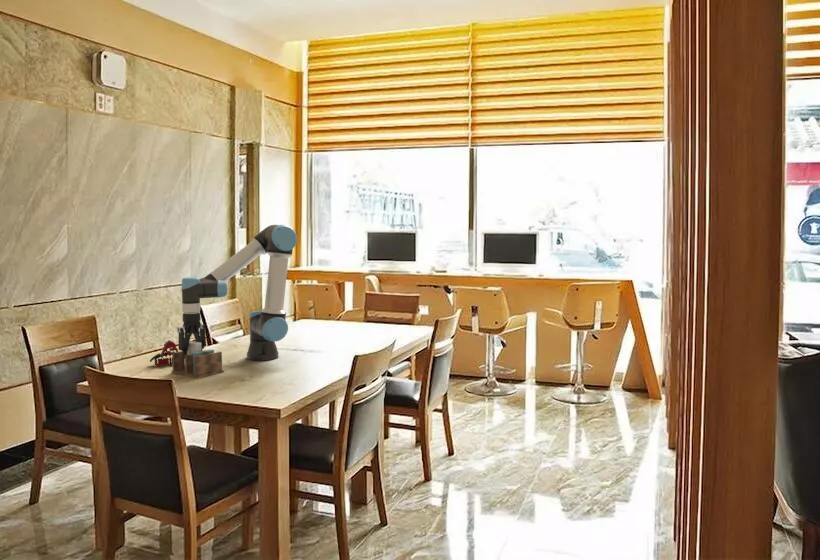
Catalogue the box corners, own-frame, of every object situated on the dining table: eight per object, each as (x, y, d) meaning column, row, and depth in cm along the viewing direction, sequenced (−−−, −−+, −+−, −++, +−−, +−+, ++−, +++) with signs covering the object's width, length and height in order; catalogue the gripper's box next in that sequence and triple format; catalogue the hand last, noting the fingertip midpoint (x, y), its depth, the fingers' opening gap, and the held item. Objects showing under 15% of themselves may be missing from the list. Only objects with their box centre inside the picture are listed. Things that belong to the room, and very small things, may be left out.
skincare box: (184, 369, 314) (183, 342, 313) (191, 367, 318) (190, 341, 317) (195, 370, 311) (194, 343, 310) (202, 369, 315) (201, 342, 314)
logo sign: (150, 367, 325) (149, 343, 324) (149, 365, 328) (148, 341, 327) (191, 363, 333) (190, 339, 332) (189, 361, 336) (189, 338, 335)
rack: (197, 367, 324) (197, 345, 323) (223, 372, 313) (223, 349, 312) (171, 372, 312) (170, 350, 311) (197, 378, 302) (196, 355, 301)
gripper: (203, 309, 322) (204, 359, 324) (168, 314, 307) (169, 367, 309) (214, 310, 317) (215, 361, 319) (178, 315, 302) (180, 369, 304)
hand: (193, 364), depth 314 cm, fingers open, 6 cm apart
